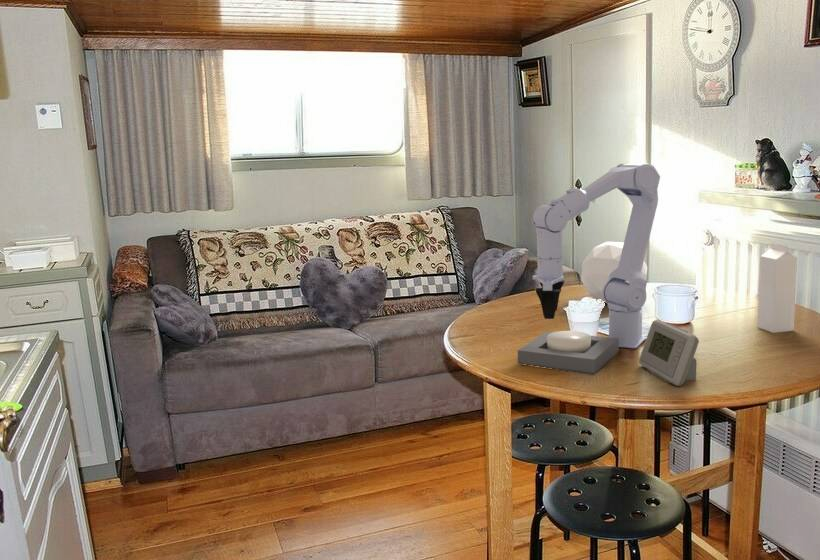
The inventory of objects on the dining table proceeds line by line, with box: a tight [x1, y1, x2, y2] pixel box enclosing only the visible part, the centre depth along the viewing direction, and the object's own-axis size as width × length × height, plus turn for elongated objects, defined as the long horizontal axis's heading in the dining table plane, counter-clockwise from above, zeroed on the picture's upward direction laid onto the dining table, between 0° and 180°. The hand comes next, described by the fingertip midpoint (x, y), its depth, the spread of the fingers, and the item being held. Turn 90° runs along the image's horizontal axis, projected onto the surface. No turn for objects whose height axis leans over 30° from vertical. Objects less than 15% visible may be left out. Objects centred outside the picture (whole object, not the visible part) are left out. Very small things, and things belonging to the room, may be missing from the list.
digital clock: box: [638, 319, 700, 387], centre depth 154 cm, size 16×9×11 cm, turn 179°
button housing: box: [517, 330, 620, 376], centre depth 169 cm, size 18×18×4 cm
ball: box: [580, 241, 648, 305], centre depth 220 cm, size 19×20×20 cm
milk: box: [757, 242, 798, 334], centre depth 183 cm, size 6×6×22 cm
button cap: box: [547, 330, 592, 353], centre depth 169 cm, size 10×10×3 cm
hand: (550, 314), depth 170 cm, fingers open, 7 cm apart
